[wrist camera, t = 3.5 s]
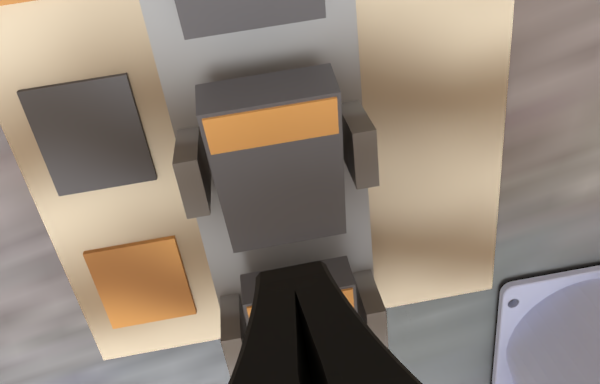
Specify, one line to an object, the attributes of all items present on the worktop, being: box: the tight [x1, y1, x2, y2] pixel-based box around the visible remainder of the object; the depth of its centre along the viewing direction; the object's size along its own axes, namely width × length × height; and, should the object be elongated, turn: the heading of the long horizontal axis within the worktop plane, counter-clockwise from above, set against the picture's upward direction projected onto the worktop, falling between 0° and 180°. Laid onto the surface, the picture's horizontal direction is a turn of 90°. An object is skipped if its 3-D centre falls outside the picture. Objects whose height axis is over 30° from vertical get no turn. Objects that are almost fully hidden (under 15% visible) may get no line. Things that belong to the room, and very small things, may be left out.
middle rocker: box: [195, 63, 346, 253], centre depth 14 cm, size 5×3×1 cm
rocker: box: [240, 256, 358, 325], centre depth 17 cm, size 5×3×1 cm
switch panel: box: [0, 0, 514, 378], centre depth 16 cm, size 19×16×6 cm
